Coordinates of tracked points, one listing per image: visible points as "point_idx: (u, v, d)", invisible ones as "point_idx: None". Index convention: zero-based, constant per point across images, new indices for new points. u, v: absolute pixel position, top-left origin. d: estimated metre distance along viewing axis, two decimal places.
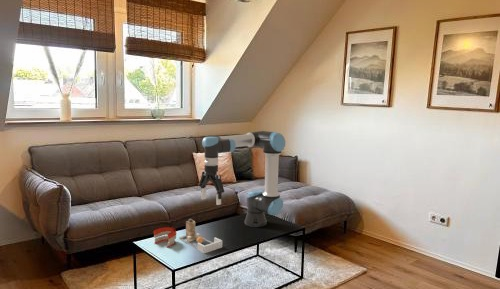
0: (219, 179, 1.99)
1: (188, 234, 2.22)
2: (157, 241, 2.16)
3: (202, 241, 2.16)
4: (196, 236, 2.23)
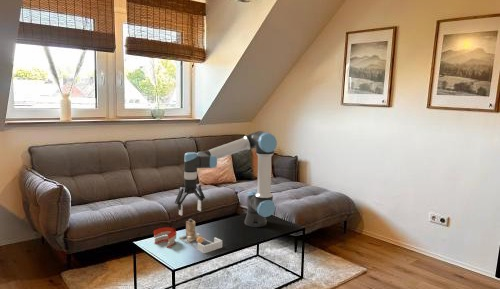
0: (180, 191, 2.15)
1: (188, 234, 2.22)
2: (157, 241, 2.16)
3: (202, 241, 2.16)
4: (196, 236, 2.23)
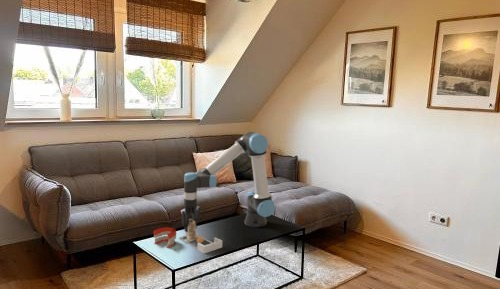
0: (182, 214, 2.18)
1: None
2: (157, 241, 2.16)
3: (202, 241, 2.16)
4: (196, 236, 2.23)
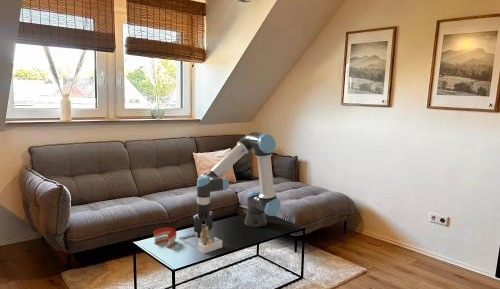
0: (195, 220, 2.09)
1: None
2: (157, 241, 2.16)
3: (209, 241, 2.11)
4: None
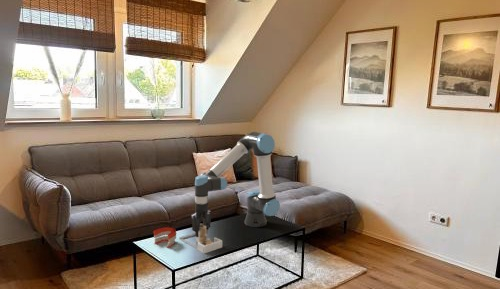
0: (193, 219, 2.10)
1: None
2: (157, 241, 2.16)
3: (209, 241, 2.11)
4: (207, 241, 2.15)
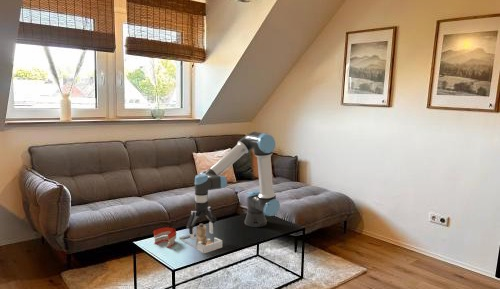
0: (191, 215, 2.09)
1: (199, 239, 2.14)
2: (157, 241, 2.16)
3: None
4: (207, 241, 2.15)
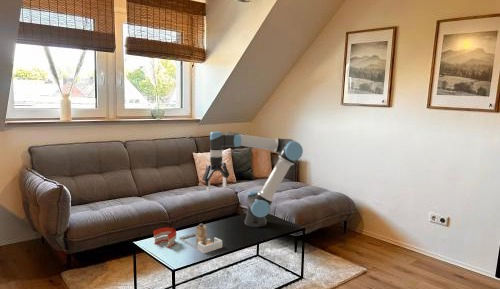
0: (207, 169, 2.25)
1: (199, 239, 2.14)
2: (157, 241, 2.16)
3: None
4: (207, 241, 2.15)
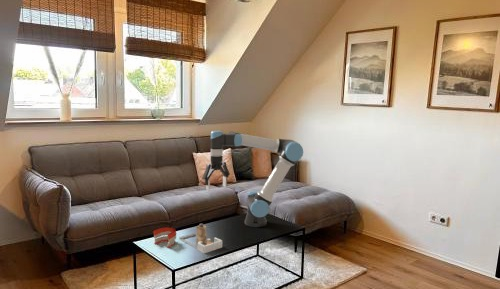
0: (207, 167, 2.26)
1: (199, 239, 2.14)
2: (157, 241, 2.16)
3: None
4: (207, 241, 2.15)
